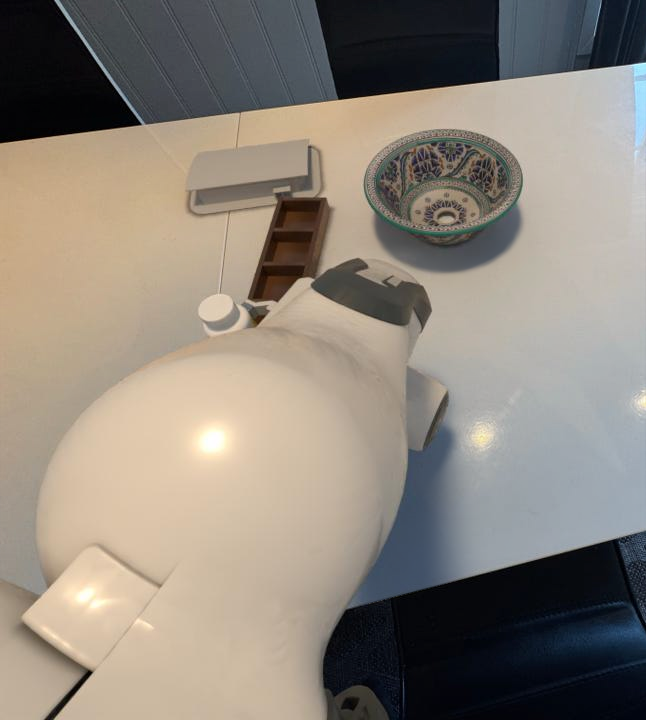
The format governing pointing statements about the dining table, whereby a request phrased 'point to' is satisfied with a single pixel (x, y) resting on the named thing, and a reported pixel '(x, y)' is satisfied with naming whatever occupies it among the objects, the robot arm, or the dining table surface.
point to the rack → (290, 247)
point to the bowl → (443, 184)
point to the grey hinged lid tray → (252, 176)
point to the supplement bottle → (223, 315)
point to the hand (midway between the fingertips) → (225, 326)
